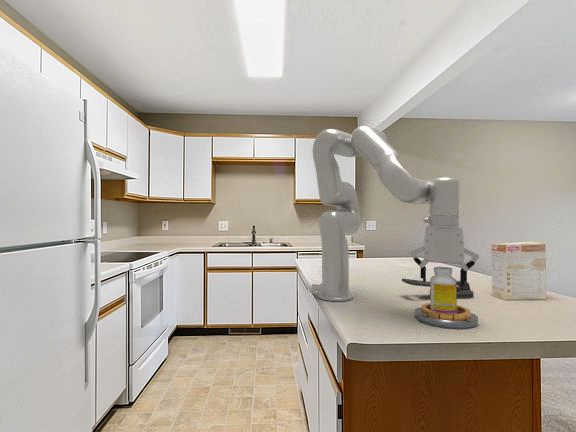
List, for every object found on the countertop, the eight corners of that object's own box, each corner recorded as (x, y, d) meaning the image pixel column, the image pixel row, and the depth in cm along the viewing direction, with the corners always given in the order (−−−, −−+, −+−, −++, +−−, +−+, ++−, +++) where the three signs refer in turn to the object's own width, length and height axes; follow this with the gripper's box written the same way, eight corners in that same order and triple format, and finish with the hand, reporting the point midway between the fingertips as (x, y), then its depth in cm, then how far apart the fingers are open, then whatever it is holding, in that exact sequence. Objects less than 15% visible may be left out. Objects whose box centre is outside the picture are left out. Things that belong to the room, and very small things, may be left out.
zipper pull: (399, 277, 119) (460, 275, 123) (399, 295, 119) (460, 292, 123) (412, 282, 110) (477, 279, 114) (412, 302, 110) (477, 298, 114)
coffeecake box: (531, 295, 119) (530, 241, 119) (547, 299, 112) (546, 243, 112) (491, 295, 118) (490, 242, 119) (504, 300, 111) (503, 243, 111)
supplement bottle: (461, 317, 88) (461, 269, 88) (437, 317, 88) (436, 269, 88) (449, 310, 94) (449, 266, 95) (426, 310, 95) (426, 266, 95)
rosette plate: (413, 324, 87) (413, 313, 87) (415, 308, 101) (415, 299, 101) (482, 332, 80) (482, 320, 80) (474, 314, 95) (474, 304, 95)
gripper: (410, 221, 91) (409, 282, 91) (481, 223, 84) (480, 288, 85) (411, 221, 98) (410, 277, 98) (477, 222, 91) (476, 283, 91)
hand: (442, 282), depth 91 cm, fingers open, 9 cm apart
